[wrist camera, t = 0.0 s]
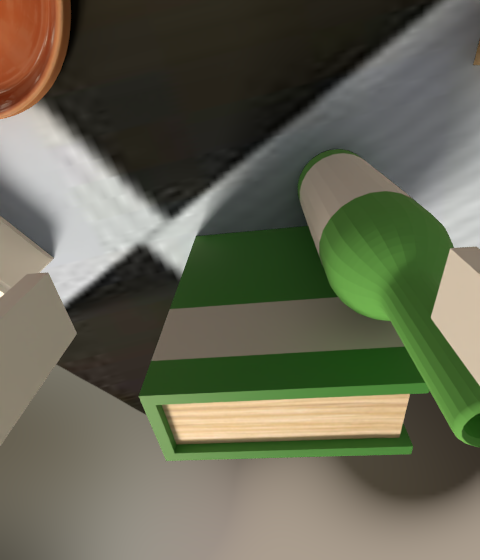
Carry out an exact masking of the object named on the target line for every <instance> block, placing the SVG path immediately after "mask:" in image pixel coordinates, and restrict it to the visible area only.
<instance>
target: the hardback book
mask: <svg viewBox="0 0 480 560" xmlns="http://www.w3.org/2000/svg"><path fill="white" fill-rule="evenodd" d="M418 393H429V388H428V387H427V385H426V383H425V381H424V380H423V378H422V376H421V374H420V372H419V371H418V369H417V367H416V365H415V364H414V362H413V360H412V358H411V357H410V355H409V353H408V351H407V349H406V348H405V346H404V344H403V342H402V341H401V339H400V337H399V335H398V334H397V332H396V330H395V328H394V326H393V325H392V323H391V321H383V320H375V319H371V318H369V317H366V316H363V315H361V314H358V313H356V312H355V311H353V310H352V309H351V308H349V307H348V306H347V305H345V304H344V303H343V302H342V301H341V300H340V299H339V297H338V296H337V295H336V293H335V292H334V291H333V289H332V288H331V286H330V284H329V281H328V278H327V276H326V273H325V270H324V267H323V265H322V263H321V260H320V257H319V254H318V252H317V249H316V246H315V243H314V240H313V238H312V235H311V232H310V229H309V226H301V227H290V228H279V229H269V230H258V231H247V232H236V233H225V234H215V235H204V236H196V238H195V241H194V243H193V246H192V249H191V252H190V255H189V257H188V260H187V263H186V266H185V268H184V271H183V274H182V277H181V280H180V282H179V285H178V288H177V291H176V294H175V296H174V299H173V302H172V305H171V308H170V310H169V313H168V316H167V319H166V321H165V324H164V327H163V330H162V333H161V335H160V338H159V341H158V344H157V347H156V349H155V352H154V355H153V358H152V360H151V363H150V366H149V369H148V372H147V374H146V377H145V380H144V383H143V386H142V388H141V391H140V394H139V398H140V401H141V403H142V405H143V408H144V410H145V412H146V415H147V417H148V419H149V422H150V424H151V426H152V429H153V431H154V433H155V436H156V438H157V440H158V443H159V445H160V447H161V449H162V452H163V454H164V457H165V459H166V461H171V460H172V461H175V460H211V459H248V458H283V457H321V456H354V455H355V456H356V455H357V456H358V455H393V454H411V452H412V449H413V445H412V443H411V440H410V438H409V436H408V433H407V431H406V429H405V426H404V424H403V420H404V416H405V412H406V408H407V404H408V399H409V395H410V394H418Z"/></svg>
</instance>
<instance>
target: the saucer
mask: <svg viewBox="0 0 480 560" xmlns="http://www.w3.org/2000/svg"><path fill="white" fill-rule="evenodd" d="M70 25H71V2H70V0H0V119H3V118H7V117H11V116H14V115H17V114H19V113H21V112H23V111H25V110H27V109H29V108H30V107H32V106H33V105H34V104H36V103H37V102H38V101H39V100H40V99H41V98H42V97H43V96H44V95H45V94H46V93H47V92H48V91H49V89H50V88H51V87H52V85H53V83H54V82H55V80H56V78H57V76H58V74H59V72H60V70H61V68H62V65H63V62H64V59H65V56H66V52H67V48H68V42H69V36H70Z"/></svg>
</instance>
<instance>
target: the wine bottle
mask: <svg viewBox="0 0 480 560" xmlns="http://www.w3.org/2000/svg"><path fill="white" fill-rule="evenodd" d="M298 197H299V200H300V203H301V207H302V210H303V213H304V215H305V218H306V221H307V224H308V226H309V229H310V232H311V235H312V238H313V240H314V243H315V246H316V249H317V252H318V254H319V257H320V260H321V263H322V265H323V267H324V270H325V273H326V276H327V278H328V281H329V284H330V286H331V288H332V289H333V291H334V292H335V293H336V295H337V296H338V297H339V299H340V300H341V301H342V302H343V303H344V304H345V305H347V306H348V307H349V308H351V309H352V310H353V311H355V312H356V313H358V314H361V315H363V316H366V317H369V318H371V319H375V320H383V321H391V323H392V325H393V326H394V328H395V330H396V332H397V334H398V335H399V337H400V339H401V341H402V342H403V344H404V346H405V348H406V349H407V351H408V353H409V355H410V357H411V358H412V360H413V362H414V364H415V365H416V367H417V369H418V371H419V372H420V374H421V376H422V378H423V380H424V381H425V383H426V385H427V387H428V388H429V390H430V392H431V394H432V396H433V397H434V399H435V401H436V402H437V404H438V406H439V408H440V410H441V411H442V413H443V415H444V417H445V418H446V420H447V422H448V424H449V425H450V427H451V429H452V431H453V432H454V434H455V435H456V437H457V438H459V439H460V440H461V441H463V442H464V443H466V444H469V445H472V446H475V447H480V386H479V384H478V383H477V381H476V380H475V379H474V377H473V376H472V374H471V373H470V372H469V370H468V369H467V368H466V366H465V365H464V363H463V362H462V361H461V359H460V358H459V356H458V355H457V354H456V352H455V351H454V349H453V348H452V347H451V345H450V344H449V343H448V341H447V340H446V338H445V337H444V336H443V334H442V333H441V331H440V330H439V329H438V327H437V326H436V325H435V323H434V322H433V320H432V319H431V315H432V311H433V308H434V304H435V301H436V297H437V294H438V290H439V286H440V283H441V279H442V276H443V272H444V269H445V265H446V262H447V258H448V254H449V251H450V248H454V247H453V244H452V242H451V240H450V237H449V235H448V233H447V231H446V229H445V228H444V226H443V225H442V224H441V223H440V222H439V221H438V220H437V219H436V218H435V217H434V216H433V215H432V214H431V213H429V212H428V211H427V210H426V209H424V208H423V207H422V206H421V205H419V204H418V203H417V202H416V201H415V200H414V199H413V198H411V197H410V196H409V195H408V194H406V193H405V192H404V191H403V190H401V189H400V188H399V187H398V186H396V185H395V184H394V183H393V182H391V181H390V180H389V179H388V178H386V177H385V176H384V175H382V174H381V173H380V172H379V171H377V170H376V169H375V168H374V167H372V166H371V165H370V164H369V163H367V162H366V161H365V160H364V159H362V158H361V157H359V156H358V155H356V154H354V153H352V152H350V151H348V150H341V149H335V150H328V151H325V152H323V153H320V154H318V155H317V156H315V157H314V158H313V159H311V160H310V161H309V163H308V164H307V165H306V166H305V167H304V169H303V171H302V173H301V175H300V178H299V182H298Z"/></svg>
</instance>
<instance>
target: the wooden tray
mask: <svg viewBox="0 0 480 560" xmlns="http://www.w3.org/2000/svg"><path fill="white" fill-rule="evenodd" d="M473 65H480V40H479V44H478V48H477V52H476V56H475V60H474V64H473Z"/></svg>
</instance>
